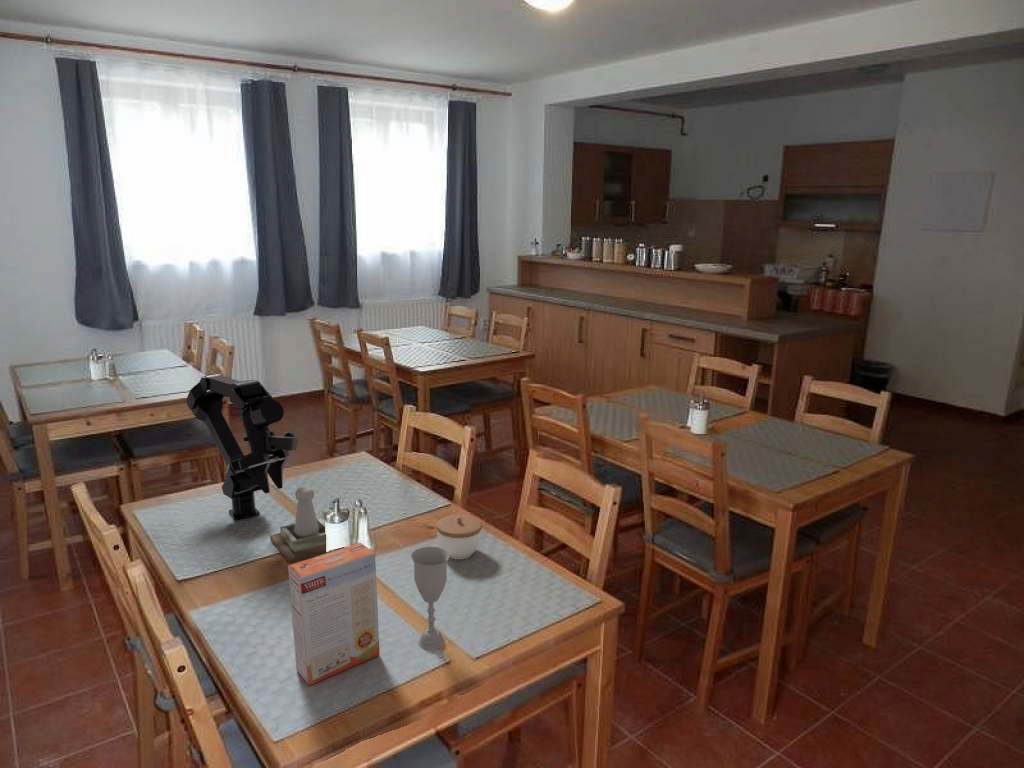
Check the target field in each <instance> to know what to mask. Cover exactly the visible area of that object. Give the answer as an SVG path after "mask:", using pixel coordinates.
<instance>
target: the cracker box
mask: <svg viewBox="0 0 1024 768" xmlns="http://www.w3.org/2000/svg"><path fill="white" fill-rule="evenodd" d="M376 565H377V564H376V552H374V551H373V550H371V549H370V548H369V547H368V546H366V545H365V544H364V543H361V542H358V543H355V544H351V545H349V546H348V545H347V547H345V548H341V549H338V550H334V551H330V552H327V553H323V554H320V555H316V556H313V557H310V558H307V559H306V560H305V559H303V560H302V561H301V560H300V561H297V562H294V563H292V564H289V565H288V566H287V568H288V569H287V572H288V582H289V596H290V607H291V617H292V618H291V619H292V630H293V631H292V632H293V642H294V654H295V655H294V656H295V666H296V667H295V668H296V671H297V672H298V674H299V675H300V676H301V678H302V679H303V680H304V681H305V682H306V684H307V685H308V686H312V685H314V684H316V683H319V682H321V681H324V680H325V679H328V678H330V677H332V676H335V675H336V674H337V675H338V674H339V673H341V672H343V671H345V670H348V669H350V668H352V667H355V666H357V665H359V664H362V663H363V662H366V661H369V660H371V659H374V658H376V657H378V656H379V655H380V650H381V649H380V633H379V610H378V609H379V607H378V606H379V605H378V591H377V590H378V589H377V588H378V587H377V586H378V585H377V568H376V567H377V566H376Z"/></svg>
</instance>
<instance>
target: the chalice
mask: <svg viewBox="0 0 1024 768" xmlns="http://www.w3.org/2000/svg"><path fill="white" fill-rule="evenodd" d="M410 556H411V558H412V559H411V560H412V561H413V570H414V571H413V572H414V573H413V574H414V576H413V577H414V578H413V580H414V582H415V585H416V588H417V590H418V592H419V594H420V596H421V598H422V600H423V601H424V602H425V603H427V604H428V607H427V609H426V612H427V614H428V616H427V618H426V621H427V622H428V626H427V627H426V628H424V629H423V630H422V632H421V633H420V636H419V638H418V641H417V643H418V644H417V645H418V646H419V647H420V648H421V649H422V650H426V649H428V650H427V651H433V650H432V649H434V650H438V649H439V648H441V647H443V646H444V645H445V642H446V640H445V638H444V636H443V634H442V632H441V630H440V629H439V628H438V627H436V626H434V624H435V621H436V620H437V618H436V617H435V616H434V614H435V612H436V608H435V607H434V604H435V603H436V602H438V601H439V598H440V597H441V595H442V593H443V591H444V589H445V587H446V583H447V580H448V579H447V578H448V572H447V571H448V570H447V563H448V560H450V557H449V553H448V552H447V551H446V550H444V549H441V547H436V546H424V547H420V548H417V549H416V550H413V552H412V553H411V555H410Z"/></svg>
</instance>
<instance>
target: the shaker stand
mask: <svg viewBox="0 0 1024 768" xmlns="http://www.w3.org/2000/svg"><path fill="white" fill-rule="evenodd" d="M316 518H317V522H318V526H319V531H318V534H317V535H314V536H310V537H306V538H303V539H299V540H298V538H297V536H296V534H295V532H294V528H295V523H291V524H287V525H283V526H280V527H279V528H280V532H279V533H274V534H271V535H269V537H270V538H269V539H270V541H271V543H272V544H273V545H274V546H275V547H276V548H277V550H278V551H279V552H280V553H281V554H282V555H283V557H284V559H286V561H287V562H288V563H289V564H290V563H295V562H299V561H301V560H302V561H303V560H305V559H310V558H313V557H317V556H320V555H323V554H326V534H325V523H324V522H325V521H324V520H323V519H322V518H321V517H316Z"/></svg>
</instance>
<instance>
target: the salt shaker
mask: <svg viewBox="0 0 1024 768" xmlns="http://www.w3.org/2000/svg"><path fill="white" fill-rule="evenodd" d="M314 497H315V490H314V489H313V488H312V487H309V486H305V487H300V488H298V489H297V490H296V491H295V498H296V500H297V508H296V515H295V528H294V532H295V534H296V536H297V538H298V540H299V539H303V538H306V537H310V536H314V535H317V534H318V531H319V526H318V522H317V518H318V517H317V515H316V514H317V513H316V511H315V507H314V504H313V499H314Z"/></svg>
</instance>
